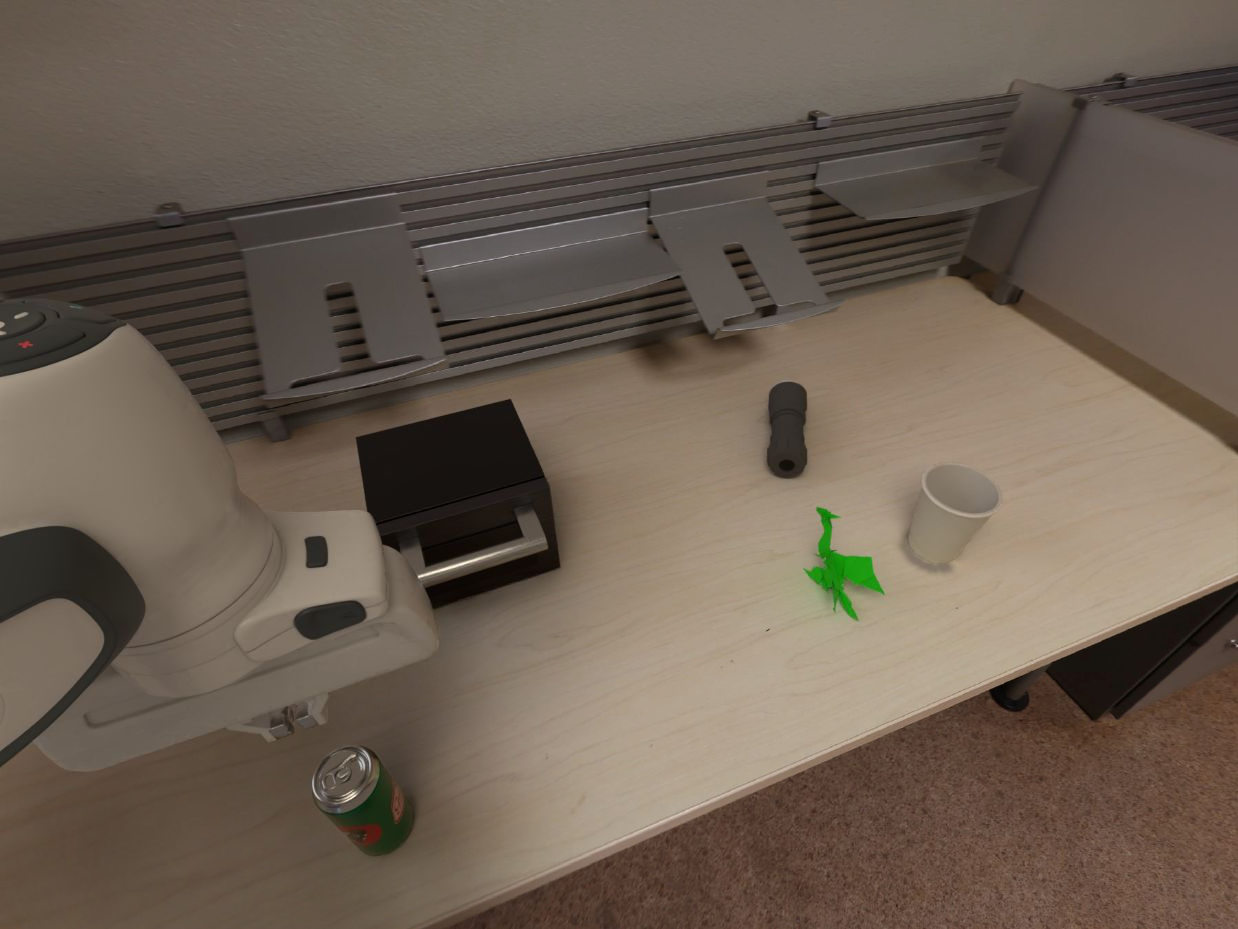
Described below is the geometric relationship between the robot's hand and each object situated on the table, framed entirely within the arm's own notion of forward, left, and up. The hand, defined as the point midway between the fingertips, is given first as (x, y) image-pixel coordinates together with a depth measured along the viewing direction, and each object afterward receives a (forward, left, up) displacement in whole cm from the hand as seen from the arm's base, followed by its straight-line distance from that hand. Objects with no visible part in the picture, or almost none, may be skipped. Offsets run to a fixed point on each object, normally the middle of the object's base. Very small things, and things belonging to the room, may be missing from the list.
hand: (299, 722), depth 42 cm
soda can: (0, 0, -21) cm, 21 cm away
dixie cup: (+56, -35, -21) cm, 69 cm away
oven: (+29, +15, -21) cm, 39 cm away
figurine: (+44, -26, -21) cm, 55 cm away
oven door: (+23, +6, -21) cm, 31 cm away
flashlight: (+65, -13, -21) cm, 70 cm away
